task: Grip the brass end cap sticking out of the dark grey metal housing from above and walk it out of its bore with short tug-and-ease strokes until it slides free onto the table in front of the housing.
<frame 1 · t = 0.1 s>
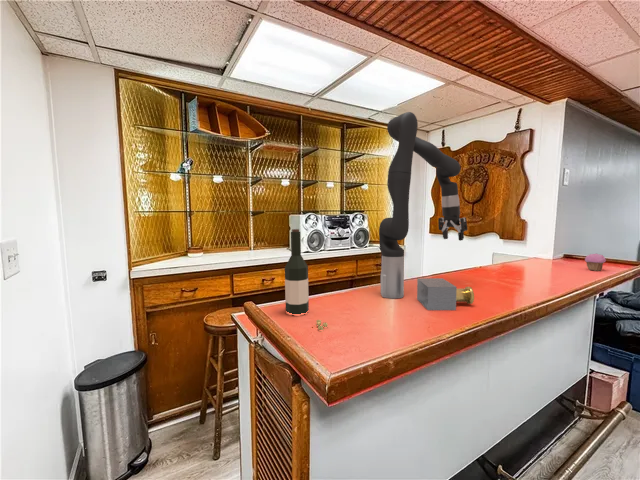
hand: (453, 239, 140), 22 cm above the table, tool pointing down, fingers open, 8 cm apart
wine bottle: (297, 313, 107), on the table
housing: (435, 304, 114), on the table
end cap: (452, 295, 113), point 4 cm above the table, slide at 0.0 cm
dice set: (320, 330, 92), on the table
cupcake: (594, 270, 174), on the table
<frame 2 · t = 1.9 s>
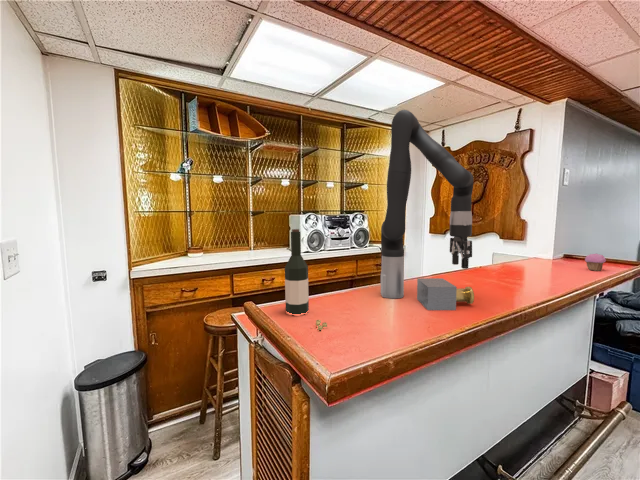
hand: (459, 266, 112), 15 cm above the table, tool pointing down, fingers open, 8 cm apart
nothing on the table moved.
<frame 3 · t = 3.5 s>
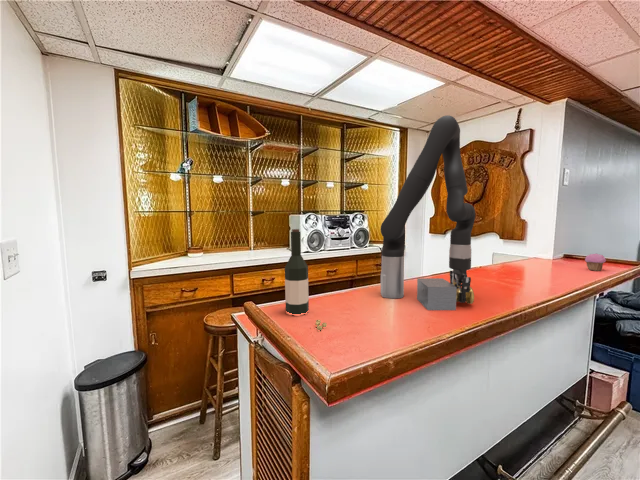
hand: (459, 300, 113), 2 cm above the table, tool pointing down, fingers closed on end cap, 5 cm apart
end cap: (452, 295, 113), point 4 cm above the table, slide at 0.0 cm, touching gripper
everything else where it was.
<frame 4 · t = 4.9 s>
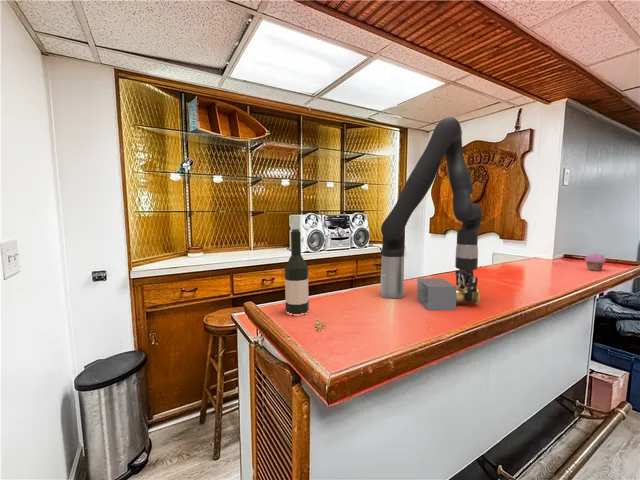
hand: (465, 300, 113), 2 cm above the table, tool pointing down, fingers closed on end cap, 5 cm apart
end cap: (459, 295, 113), point 4 cm above the table, slide at 2.3 cm, touching gripper
everything else where it was.
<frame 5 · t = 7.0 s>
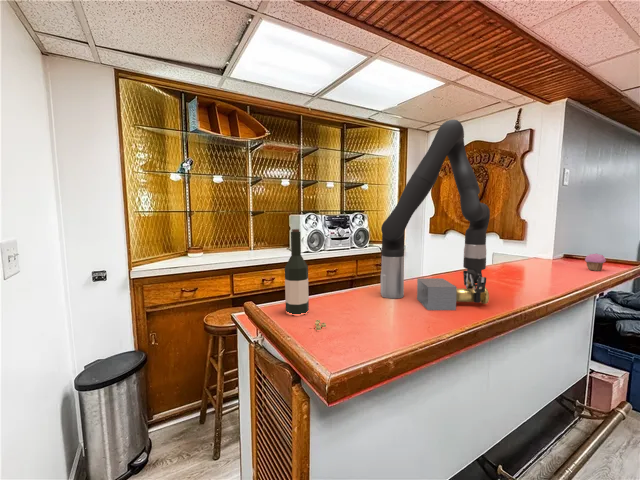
hand: (473, 300, 113), 2 cm above the table, tool pointing down, fingers closed on end cap, 5 cm apart
end cap: (467, 295, 113), point 4 cm above the table, slide at 5.3 cm, touching gripper
everything else where it was.
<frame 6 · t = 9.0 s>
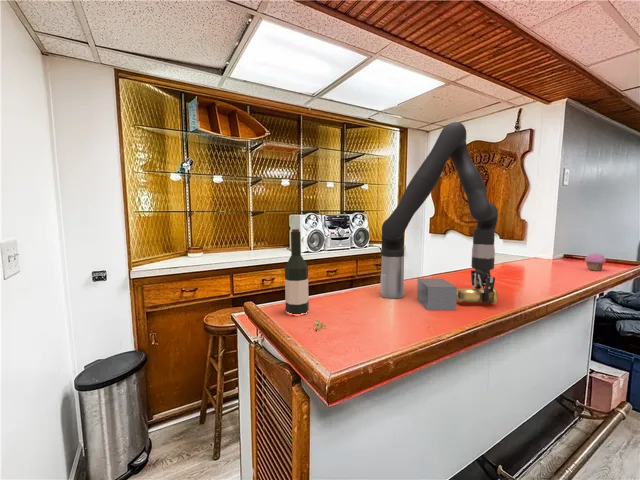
hand: (481, 300, 113), 2 cm above the table, tool pointing down, fingers closed on end cap, 5 cm apart
end cap: (475, 295, 113), point 4 cm above the table, slide at 8.4 cm, touching gripper
everything else where it was.
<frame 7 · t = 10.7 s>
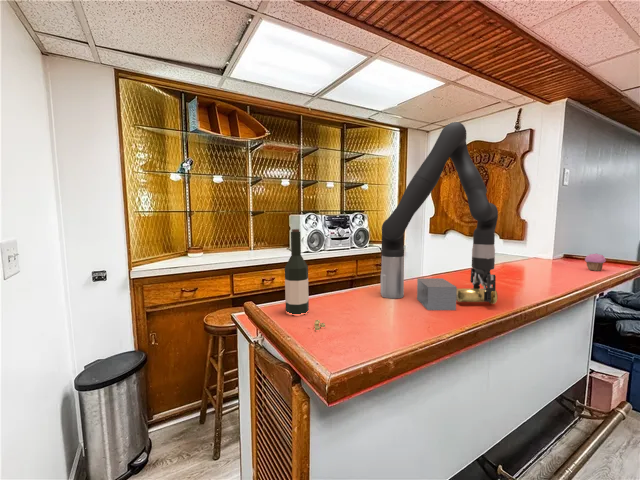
hand: (481, 298, 113), 2 cm above the table, tool pointing down, fingers open, 8 cm apart
end cap: (475, 295, 113), point 4 cm above the table, slide at 8.4 cm
everything else where it was.
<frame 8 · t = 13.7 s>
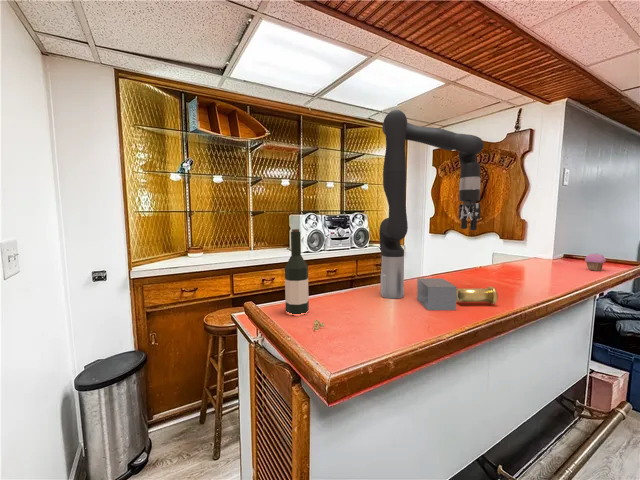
hand: (468, 229, 121), 28 cm above the table, tool pointing down, fingers open, 8 cm apart
nothing on the table moved.
at the end: end cap slide at 8.4 cm; the gripper is holding nothing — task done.
